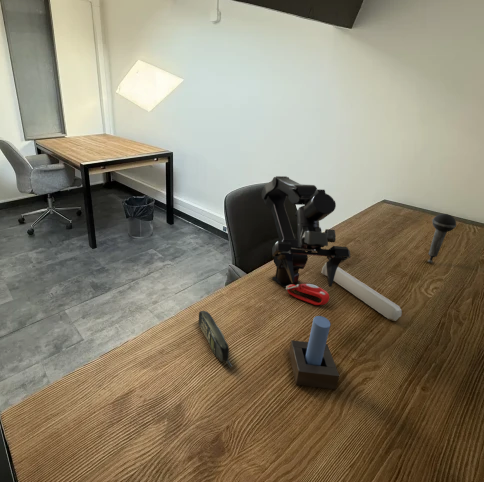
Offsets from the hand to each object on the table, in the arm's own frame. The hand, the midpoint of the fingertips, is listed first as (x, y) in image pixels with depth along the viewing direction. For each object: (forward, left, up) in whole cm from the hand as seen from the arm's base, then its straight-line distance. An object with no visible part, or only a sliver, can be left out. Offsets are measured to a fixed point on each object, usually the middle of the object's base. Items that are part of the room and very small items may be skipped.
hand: (311, 284), depth 77 cm
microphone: (+5, +69, -14) cm, 70 cm away
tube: (+1, +26, -14) cm, 29 cm away
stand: (+9, -10, -14) cm, 19 cm away
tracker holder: (-8, +12, -14) cm, 20 cm away
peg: (+9, -10, -14) cm, 19 cm away
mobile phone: (-8, -24, -14) cm, 29 cm away
